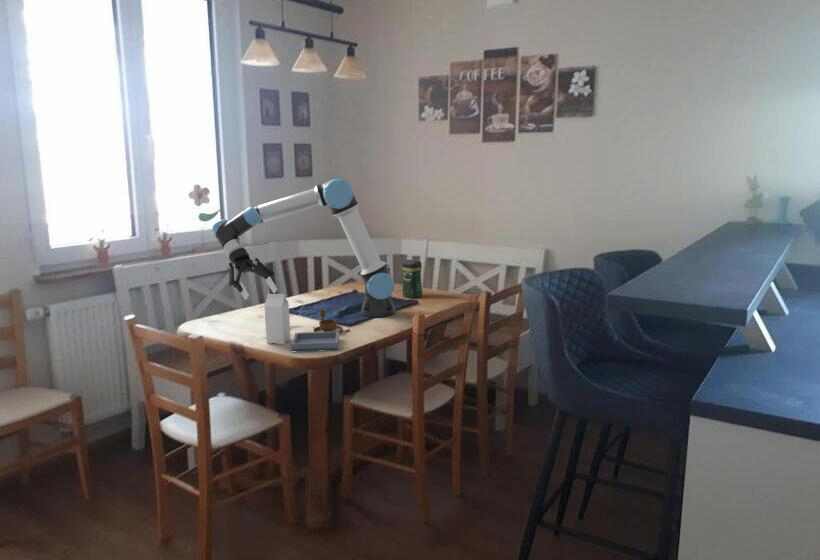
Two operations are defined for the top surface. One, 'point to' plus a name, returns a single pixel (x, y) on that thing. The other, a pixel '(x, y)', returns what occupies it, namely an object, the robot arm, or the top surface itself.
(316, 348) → the tray
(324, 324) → the brown toy crab
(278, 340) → the milk carton
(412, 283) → the coffee jar
